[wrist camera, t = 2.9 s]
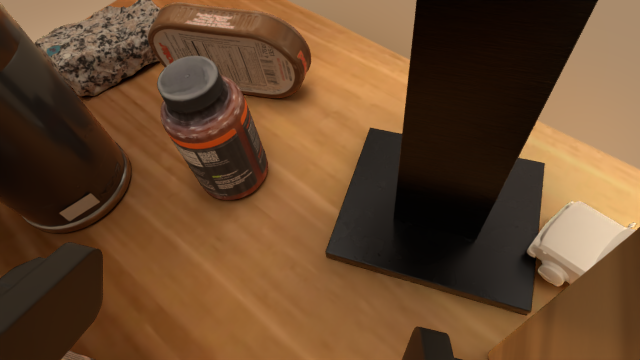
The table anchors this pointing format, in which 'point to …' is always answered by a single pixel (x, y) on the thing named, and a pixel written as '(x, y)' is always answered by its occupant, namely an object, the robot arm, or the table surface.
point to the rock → (102, 47)
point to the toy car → (575, 242)
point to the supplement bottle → (212, 127)
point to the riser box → (586, 315)
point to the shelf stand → (462, 152)
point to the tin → (234, 46)
